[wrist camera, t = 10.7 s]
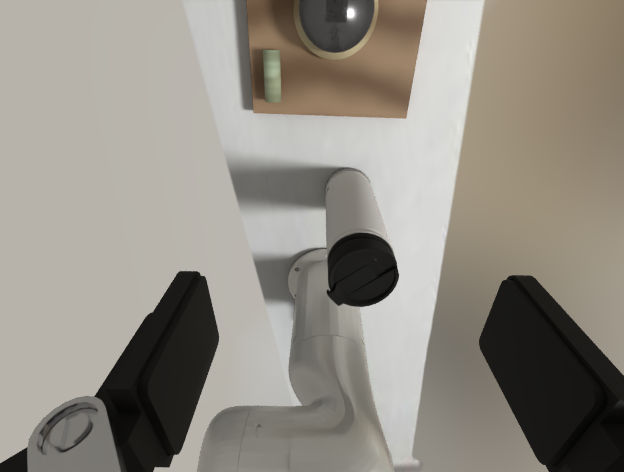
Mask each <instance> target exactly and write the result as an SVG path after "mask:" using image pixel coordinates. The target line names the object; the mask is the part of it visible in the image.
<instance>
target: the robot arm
mask: <svg viewBox="0 0 624 472" xmlns="http://www.w3.org/2000/svg"><path fill="white" fill-rule="evenodd" d="M288 287H289V291H290V293H291V295H292V296H293V297H294V299H295V310H294V319H293V329H292V339H291V348H290V358H289V378H290V382H291V385H292V388H293V390H294V392H295V394H296V396H297V398H298V399H299V401H300V403H301V404H302V406H295V407H293V406H291V407H290V406H289V407H288V406H235V407H230V408H227V409H224V410H222V411H221V412H219V413H218V414H217V415H216V416H215V417H214V418H213V420H212V421H211V423H210V424H209V427H208V428H207V431H206V433H205V436H204V439H203V443H202V447H201V451H200V456H199V462H198V469H197V472H393V467H392V461H391V457H390V453H389V449H388V446H387V443H386V440H385V436H384V433H383V430H382V427H381V424H380V420H379V417H378V414H377V410H376V406H375V403H374V398H373V393H372V388H371V383H370V377H369V371H368V364H367V356H366V349H365V342H364V335H363V328H362V321H361V314H360V307H354V306H349V305H346V304H342V305H340V306H338V305H337V304H335V303H334V302H333V301H332V300H331V299H330V298H329V297H328V295H327V289H328V290H329V291H330V289H329V285H328V265H327V249H319V250H315V251H311V252H309V253H306V254H304V255H303V256H301V257H300V258H298V259H297V260H296V261H295V262H294V264H293V265H292V267H291V269H290V272H289V276H288ZM218 342H219V333H218V329H217V324H216V320H215V316H214V311H213V307H212V303H211V298H210V294H209V290H208V285H207V281H206V278H205V276H201V275H200V273H199V272H197V271H193V272H192V271H180V272H178V274H177V275H176V277H175V278H174V280H173V282H172V283H171V285H170V286H169V288H168V289H167V291H166V293H165V294H164V296H163V297H162V299H161V300H160V302H159V303H158V305H157V307H156V308H155V310H154V312H153V313H150V314H148V315H147V317H146V318H145V319H144V321H143V322H142V324H141V325H140V327H139V328H138V330H137V331H136V333H135V335H134V336H133V338H132V339H131V341H130V342H129V344H128V345H127V347H126V349H125V350H124V352H123V353H122V355H121V356H120V358H119V359H118V361H117V362H116V364H115V366H114V367H113V369H112V370H111V372H110V373H109V375H108V376H107V378H106V380H105V381H104V383H103V385H102V386H101V387H100V389H99V390H98V392H97V393H96V395H95V396H94V397H91V396H84V397H78V398H75V399H72V400H70V401H68V402H65V403H63V404H62V405H60V406H59V407H57V408H55V409H54V410H53V411H51V412H50V413H49V414H48V415H47V416H46V417H44V418H43V420H42V421H41V422H40V423H39V424H38V425H37V427H36V428H35V430H34V431H33V433H32V435H31V437H30V439H29V443H28V447H27V448H25V449H24V450H22V451H20V452H19V453H17V454H15V455H14V456H12V457H10V458H9V459H7V460H5V461H4V462H2V463H0V472H153V470H154V468H155V467H170V464H171V461H172V458H173V456H174V455H177V454H179V453H180V451H181V449H182V447H183V444H184V441H185V438H186V435H187V432H188V429H189V427H190V424H191V421H192V418H193V415H194V412H195V409H196V406H197V404H198V401H199V398H200V395H201V392H202V389H203V386H204V383H205V381H206V378H207V375H208V372H209V369H210V366H211V363H212V360H213V357H214V355H215V352H216V348H217V345H218ZM479 345H480V349H481V351H482V353H483V355H484V357H485V359H486V361H487V363H488V365H489V367H490V369H491V371H492V373H493V375H494V377H495V378H496V380H497V382H498V384H499V386H500V388H501V390H502V392H503V394H504V396H505V398H506V400H507V401H508V403H509V405H510V407H511V409H512V411H513V413H514V415H515V417H516V419H517V421H518V423H519V425H520V427H521V429H522V431H523V433H524V434H525V436H526V438H527V440H528V442H529V444H530V446H531V448H532V450H533V452H534V454H535V456H536V457H537V459H538V460H539V462H540V463H542V464H543V465H546V467H547V469H548V471H549V472H624V376H623V375H622V373H621V372H620V371H619V370H618V369H617V368H616V367H615V366H614V365H613V363H612V362H611V361H610V360H609V359H608V358H607V357H606V356H605V355H604V354H603V352H602V351H601V350H600V349H599V348H598V347H597V346H596V345H595V344H594V343H593V341H592V340H591V339H590V338H589V337H588V336H587V335H586V334H585V333H584V332H583V331H582V330H581V328H580V327H579V326H578V325H577V324H576V323H575V322H574V321H573V319H572V318H571V317H569V315H568V314H567V313H566V312H565V311H564V310H563V309H562V307H561V306H560V305H559V304H558V303H557V302H556V301H555V300H554V299H553V298H552V296H551V295H550V294H549V293H548V292H547V291H546V290H545V289H544V288H543V287H542V286H541V285H540V283H539V282H538V281H537V280H536V279H535V278H534V277H533V276H522V275H512V276H509V277H508V278H507V280H504V281H502V283H501V285H500V288H499V290H498V293H497V295H496V298H495V300H494V303H493V305H492V308H491V310H490V313H489V316H488V318H487V321H486V323H485V326H484V328H483V331H482V333H481V336H480V339H479Z"/></svg>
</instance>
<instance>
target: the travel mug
mask: <svg viewBox="0 0 624 472" xmlns="http://www.w3.org/2000/svg"><path fill="white" fill-rule="evenodd" d="M325 195H326V241H327V265H328V285H329V289H330V291H329V290H328V289H327V295H328V297H329V298H330V299H331V300H332V301H333V302H334V303H335V304H337V305H338V306H340V305H342V304H346V305H349V306H354V307H364V306H370V305H373V304H376V303H378V302H380V301H382V300H383V299H385V298H386V297H387V296H388V295H389V294H390V293H391V292H392V291H393V290H394V288H395V287H396V284H397V282H398V278H399V273H398V269H397V262H396V259H395V256H394V252H393V248H392V246H391V243H390V240H389V237H388V234H387V231H386V228H385V225H384V222H383V219H382V216H381V213H380V210H379V207H378V204H377V201H376V198H375V196H374V193H373V190H372V187H371V184H370V181H369V179H368V177H367V176H366V175H365V174H364V173H363V172H361V171H359V170H357V169H353V168H347V169H342V170H339V171H337V172H335V173H334V174H333V175H332V176H331V177H330V178H329V180H328V182H327V184H326V190H325Z"/></svg>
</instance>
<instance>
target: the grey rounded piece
mask: <svg viewBox="0 0 624 472" xmlns="http://www.w3.org/2000/svg"><path fill="white" fill-rule="evenodd" d="M374 6H375V2H374V0H300V2H299V16H300V21H301V25H302V28H303V30H304V32H305V34H306V36H307V37H308V39H309V40H310V41H311V42H312V43H313V44H314V45H315V46H316V47H318V48H320V49H321V50H324V51H326V52H331V53H340V52H344V51H347V50H349V49H351V48H353V47H354V46H356V45H357V44H358V43H359V42H360V41H361V40H362V39H363V38H364V37H365V35H366V33H367V32H368V30H369V28H370V26H371V23H372V20H373V16H374Z"/></svg>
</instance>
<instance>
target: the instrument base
mask: <svg viewBox="0 0 624 472" xmlns="http://www.w3.org/2000/svg"><path fill="white" fill-rule="evenodd" d="M299 2H300V0H246V3H247V19H248V34H249V50H250V65H251V80H252V96H253V111H254V113H268V114H296V115H324V116H352V117H380V118H406V116H407V111H408V105H409V99H410V94H411V88H412V82H413V77H414V71H415V65H416V60H417V54H418V48H419V43H420V37H421V32H422V26H423V20H424V15H425V9H426V3H427V0H374V2H375V6H374V16H373V20H372V23H371V26H370V28H369V30H368V32H367V33H366V35H365V37H364V38H363V39H362V40H361V41H360V42H359V43H358V44H357V45H356V46H354V47H353V48H351V49H349V50H347V51H344V52H340V53H331V52H326V51H324V50H321V49H320V48H318V47H316V46H315V45H314V44H313V43H312V42H311V41H310V40H309V39H308V37H307V36H306V34H305V32H304V30H303V28H302V25H301V21H300V16H299Z"/></svg>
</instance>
